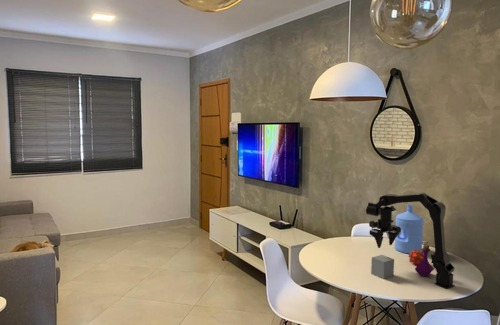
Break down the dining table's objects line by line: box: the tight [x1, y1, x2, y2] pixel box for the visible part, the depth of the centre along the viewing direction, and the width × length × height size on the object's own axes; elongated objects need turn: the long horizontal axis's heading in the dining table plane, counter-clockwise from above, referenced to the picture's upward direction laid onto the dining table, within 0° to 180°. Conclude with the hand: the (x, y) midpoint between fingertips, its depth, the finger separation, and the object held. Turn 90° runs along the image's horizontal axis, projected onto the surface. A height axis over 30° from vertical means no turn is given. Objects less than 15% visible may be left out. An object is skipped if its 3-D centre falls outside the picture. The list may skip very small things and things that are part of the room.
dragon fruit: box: [408, 250, 424, 267], centre depth 209 cm, size 8×8×12 cm
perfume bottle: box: [414, 240, 435, 277], centre depth 194 cm, size 8×8×18 cm
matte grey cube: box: [370, 254, 395, 280], centre depth 194 cm, size 8×8×9 cm
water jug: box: [394, 204, 424, 255], centre depth 231 cm, size 16×16×28 cm
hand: (384, 246), depth 202 cm, fingers open, 9 cm apart
